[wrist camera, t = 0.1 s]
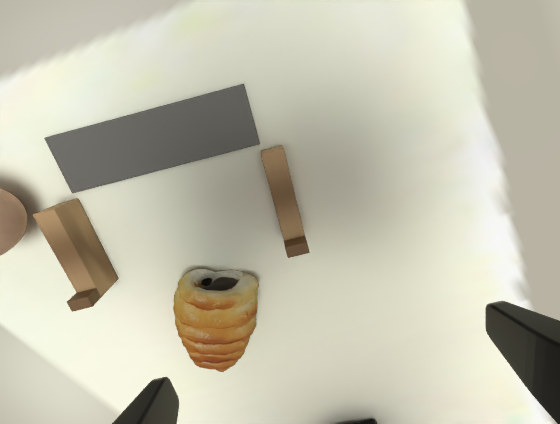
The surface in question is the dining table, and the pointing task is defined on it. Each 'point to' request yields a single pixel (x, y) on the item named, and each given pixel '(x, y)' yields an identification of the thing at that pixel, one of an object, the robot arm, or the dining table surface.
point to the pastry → (215, 315)
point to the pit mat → (155, 139)
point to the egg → (11, 221)
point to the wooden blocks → (94, 262)
